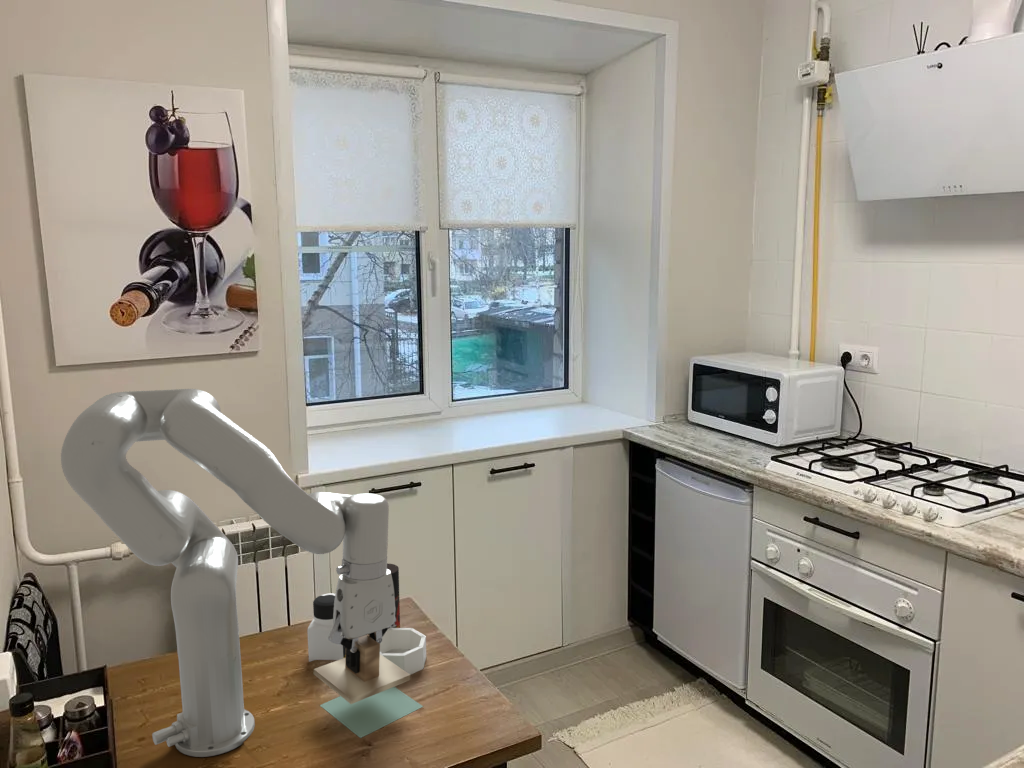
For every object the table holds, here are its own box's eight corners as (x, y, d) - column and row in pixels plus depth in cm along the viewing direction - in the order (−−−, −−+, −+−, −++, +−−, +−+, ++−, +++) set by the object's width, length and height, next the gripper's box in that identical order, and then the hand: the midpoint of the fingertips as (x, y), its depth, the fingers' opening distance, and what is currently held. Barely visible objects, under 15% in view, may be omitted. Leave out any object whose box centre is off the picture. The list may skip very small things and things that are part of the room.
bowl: (390, 686, 145) (389, 661, 144) (358, 664, 152) (357, 640, 152) (436, 665, 152) (435, 641, 151) (403, 645, 160) (402, 622, 159)
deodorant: (384, 627, 168) (382, 561, 165) (406, 634, 164) (404, 567, 162) (365, 638, 162) (363, 571, 160) (388, 646, 159) (386, 577, 157)
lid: (351, 704, 128) (351, 664, 127) (313, 674, 136) (314, 636, 135) (410, 680, 136) (411, 642, 135) (371, 653, 145) (372, 617, 143)
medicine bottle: (344, 662, 153) (342, 605, 151) (308, 662, 153) (305, 605, 151) (352, 644, 160) (350, 589, 158) (318, 644, 160) (315, 589, 158)
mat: (360, 741, 129) (360, 737, 129) (319, 708, 138) (319, 705, 138) (423, 709, 137) (423, 706, 137) (381, 680, 147) (381, 677, 147)
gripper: (334, 585, 125) (332, 691, 128) (416, 562, 136) (412, 660, 139) (310, 570, 130) (309, 672, 133) (391, 549, 141) (388, 644, 144)
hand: (362, 665), depth 136 cm, fingers closed on lid, 3 cm apart
